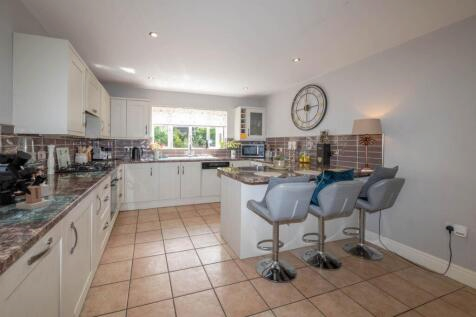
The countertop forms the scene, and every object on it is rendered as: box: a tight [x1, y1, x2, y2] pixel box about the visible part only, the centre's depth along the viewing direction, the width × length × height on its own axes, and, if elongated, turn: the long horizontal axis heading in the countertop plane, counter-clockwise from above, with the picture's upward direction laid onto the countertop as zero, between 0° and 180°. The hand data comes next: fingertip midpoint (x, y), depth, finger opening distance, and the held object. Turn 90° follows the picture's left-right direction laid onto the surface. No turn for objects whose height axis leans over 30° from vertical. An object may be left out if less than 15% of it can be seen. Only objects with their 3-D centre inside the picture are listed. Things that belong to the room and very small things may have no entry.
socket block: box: [15, 199, 52, 211], centre depth 122 cm, size 10×10×2 cm
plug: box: [25, 185, 43, 204], centre depth 122 cm, size 5×4×10 cm
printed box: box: [28, 180, 50, 198], centre depth 143 cm, size 7×7×12 cm
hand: (35, 193), depth 121 cm, fingers closed on plug, 4 cm apart
